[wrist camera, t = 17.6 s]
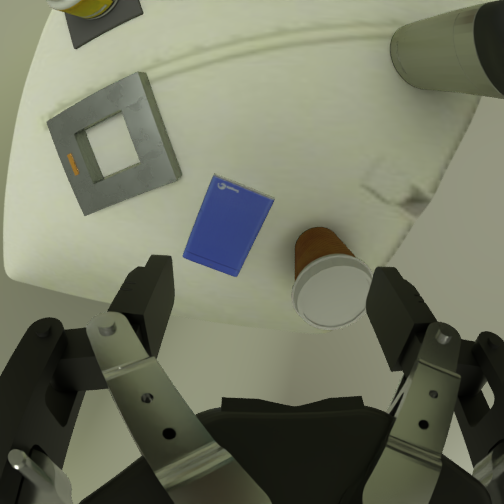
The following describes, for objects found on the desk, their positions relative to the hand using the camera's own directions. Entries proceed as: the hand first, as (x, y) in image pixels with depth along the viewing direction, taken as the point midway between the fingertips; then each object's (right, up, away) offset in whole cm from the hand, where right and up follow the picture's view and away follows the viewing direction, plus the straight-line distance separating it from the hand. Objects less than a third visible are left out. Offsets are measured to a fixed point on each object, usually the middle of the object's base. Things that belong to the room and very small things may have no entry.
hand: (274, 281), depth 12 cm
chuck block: (-18, +15, +24) cm, 34 cm away
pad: (-20, +33, +14) cm, 41 cm away
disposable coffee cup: (+8, +2, +31) cm, 32 cm away
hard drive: (-4, +5, +30) cm, 31 cm away
